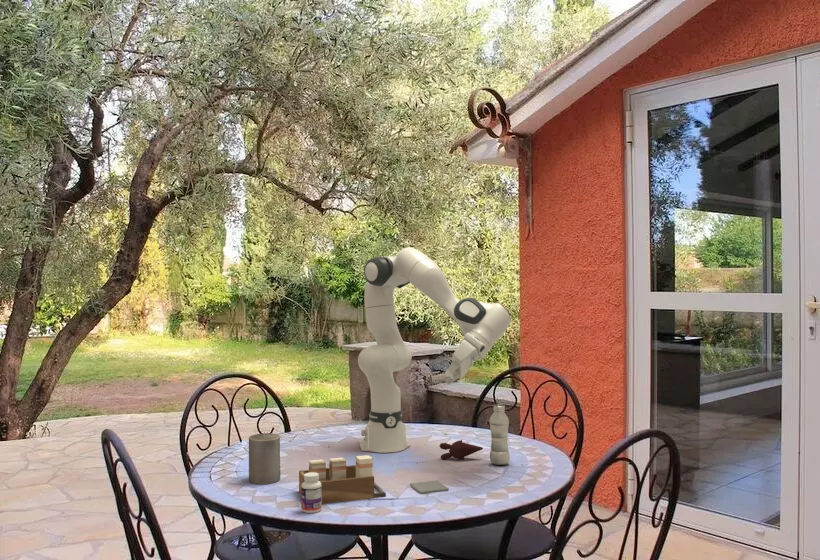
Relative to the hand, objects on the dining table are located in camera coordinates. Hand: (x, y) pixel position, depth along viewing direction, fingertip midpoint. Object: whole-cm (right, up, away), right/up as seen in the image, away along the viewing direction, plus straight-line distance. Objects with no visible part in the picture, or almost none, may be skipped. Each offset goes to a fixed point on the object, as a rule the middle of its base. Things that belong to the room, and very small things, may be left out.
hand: (447, 379), depth 214 cm
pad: (-6, -31, -11) cm, 33 cm away
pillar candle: (-57, -31, -2) cm, 65 cm away
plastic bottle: (+19, -31, +15) cm, 39 cm away
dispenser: (-32, -31, -16) cm, 47 cm away
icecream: (+6, -31, +22) cm, 39 cm away
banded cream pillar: (-25, -31, -14) cm, 42 cm away
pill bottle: (-38, -31, -30) cm, 58 cm away
